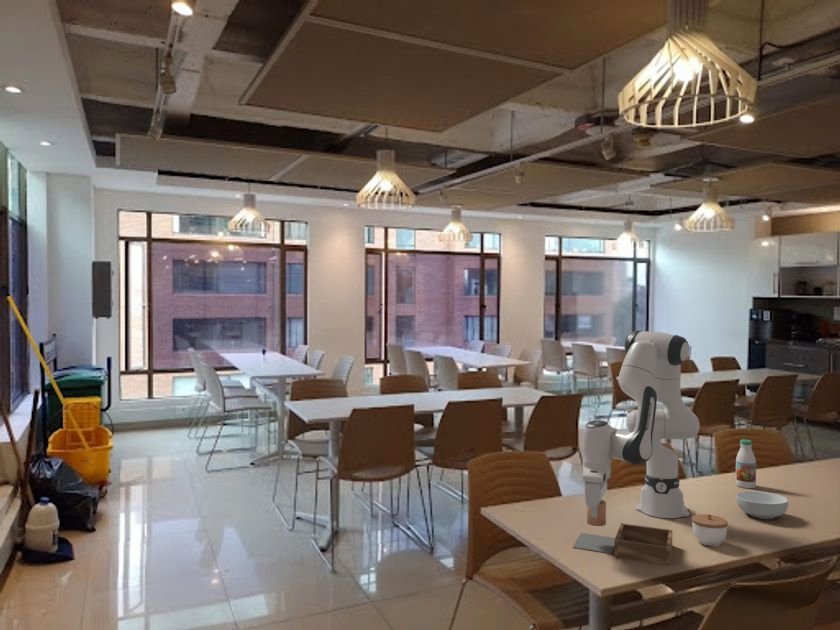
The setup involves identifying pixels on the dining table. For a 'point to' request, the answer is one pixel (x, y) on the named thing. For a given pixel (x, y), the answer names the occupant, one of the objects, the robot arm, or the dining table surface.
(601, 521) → the peach cylinder
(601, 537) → the slate mat
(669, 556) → the wooden frame
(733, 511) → the dining table surface
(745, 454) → the milk bottle
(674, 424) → the robot arm
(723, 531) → the lidded jar
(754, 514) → the cereal bowl
